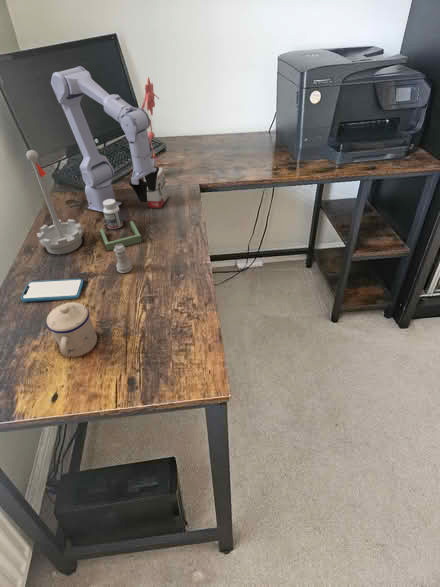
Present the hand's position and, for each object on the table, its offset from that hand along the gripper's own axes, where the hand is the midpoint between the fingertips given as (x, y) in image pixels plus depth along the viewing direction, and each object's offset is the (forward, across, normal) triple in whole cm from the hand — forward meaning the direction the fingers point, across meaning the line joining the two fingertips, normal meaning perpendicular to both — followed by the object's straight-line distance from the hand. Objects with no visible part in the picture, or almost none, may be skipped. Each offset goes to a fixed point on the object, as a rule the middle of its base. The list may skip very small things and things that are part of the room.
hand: (147, 195), depth 123 cm
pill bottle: (+10, -4, +12) cm, 16 cm away
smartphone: (+10, -39, +14) cm, 43 cm away
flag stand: (+10, -17, +23) cm, 31 cm away
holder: (+10, -10, +7) cm, 16 cm away
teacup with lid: (+10, -56, -3) cm, 57 cm away
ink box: (+10, +14, +3) cm, 18 cm away
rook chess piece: (+10, -26, -1) cm, 28 cm away
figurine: (+10, +40, +11) cm, 43 cm away
